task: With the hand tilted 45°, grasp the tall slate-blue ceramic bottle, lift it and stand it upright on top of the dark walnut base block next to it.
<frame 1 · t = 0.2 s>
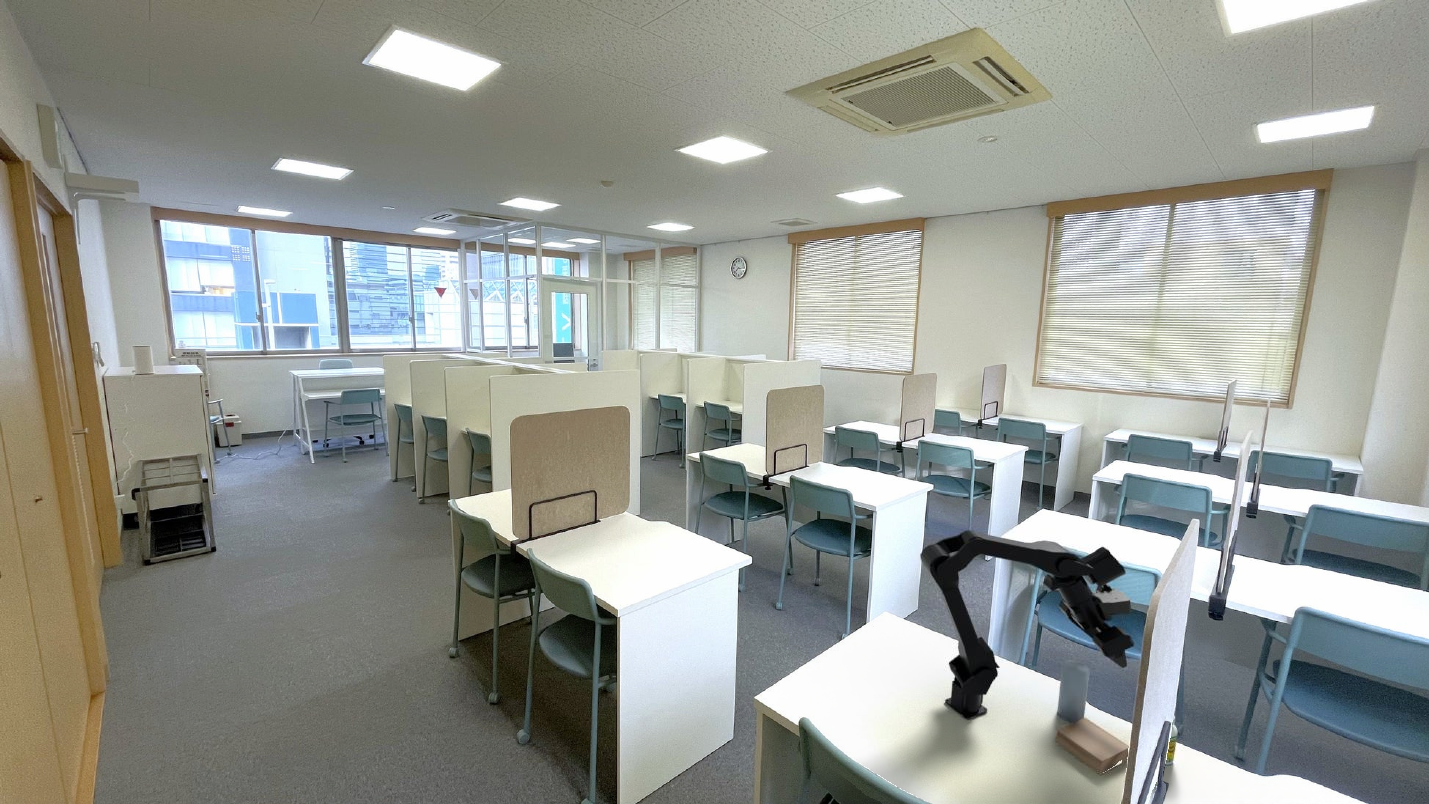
hand: (1111, 653, 124), 15 cm above the table, tool tilted 30°, fingers open, 9 cm apart
slate bottle: (1070, 716, 125), on the table
supplement bottle: (1156, 756, 114), on the table
walnut base: (1091, 751, 115), on the table
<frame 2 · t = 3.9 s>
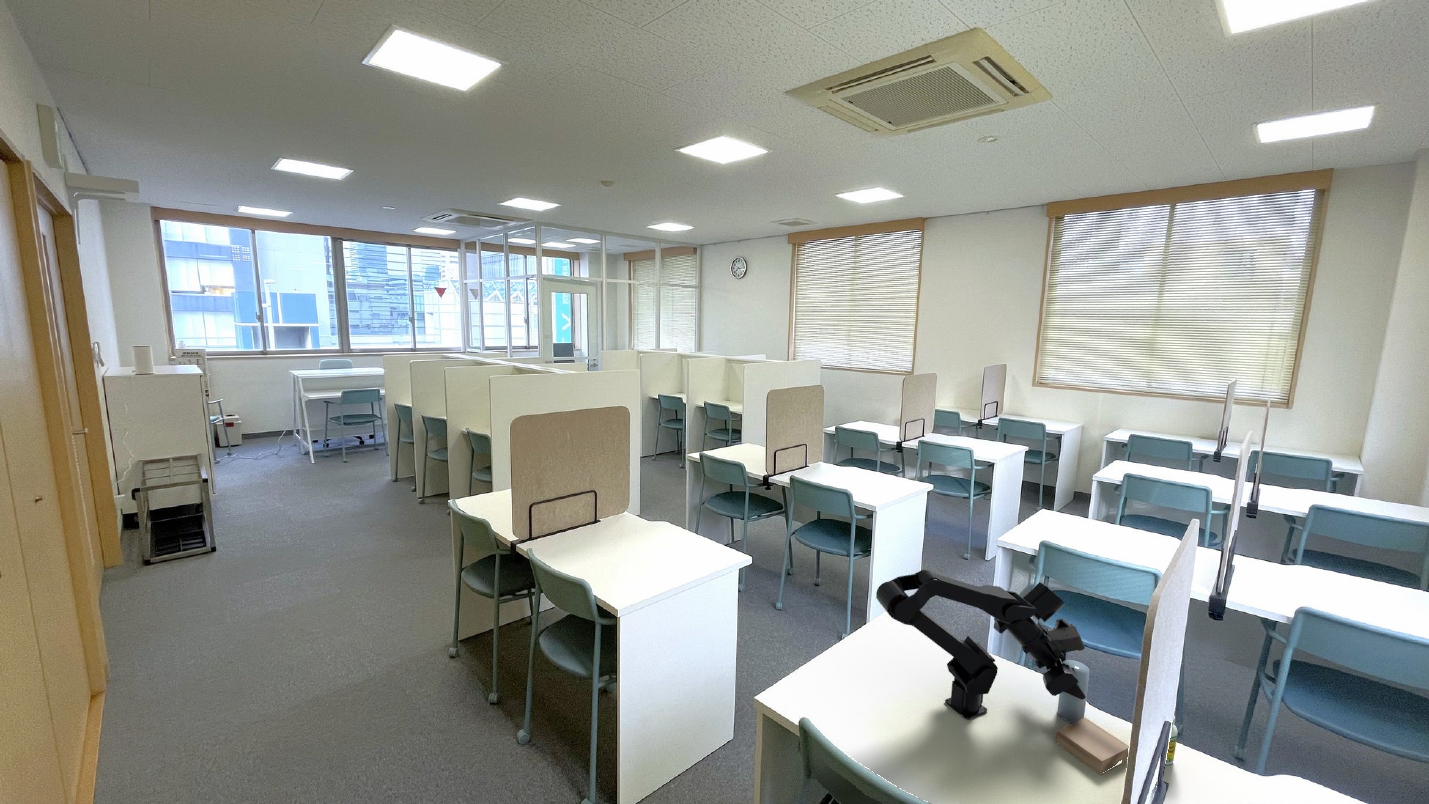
hand: (1080, 690, 124), 7 cm above the table, tool tilted 45°, fingers closed on slate bottle, 5 cm apart
slate bottle: (1070, 716, 125), on the table, touching gripper
everything else where it was.
when the fingers open (11 cm above the table, at t = 8.6 s): slate bottle drops 1 cm, resting on walnut base.
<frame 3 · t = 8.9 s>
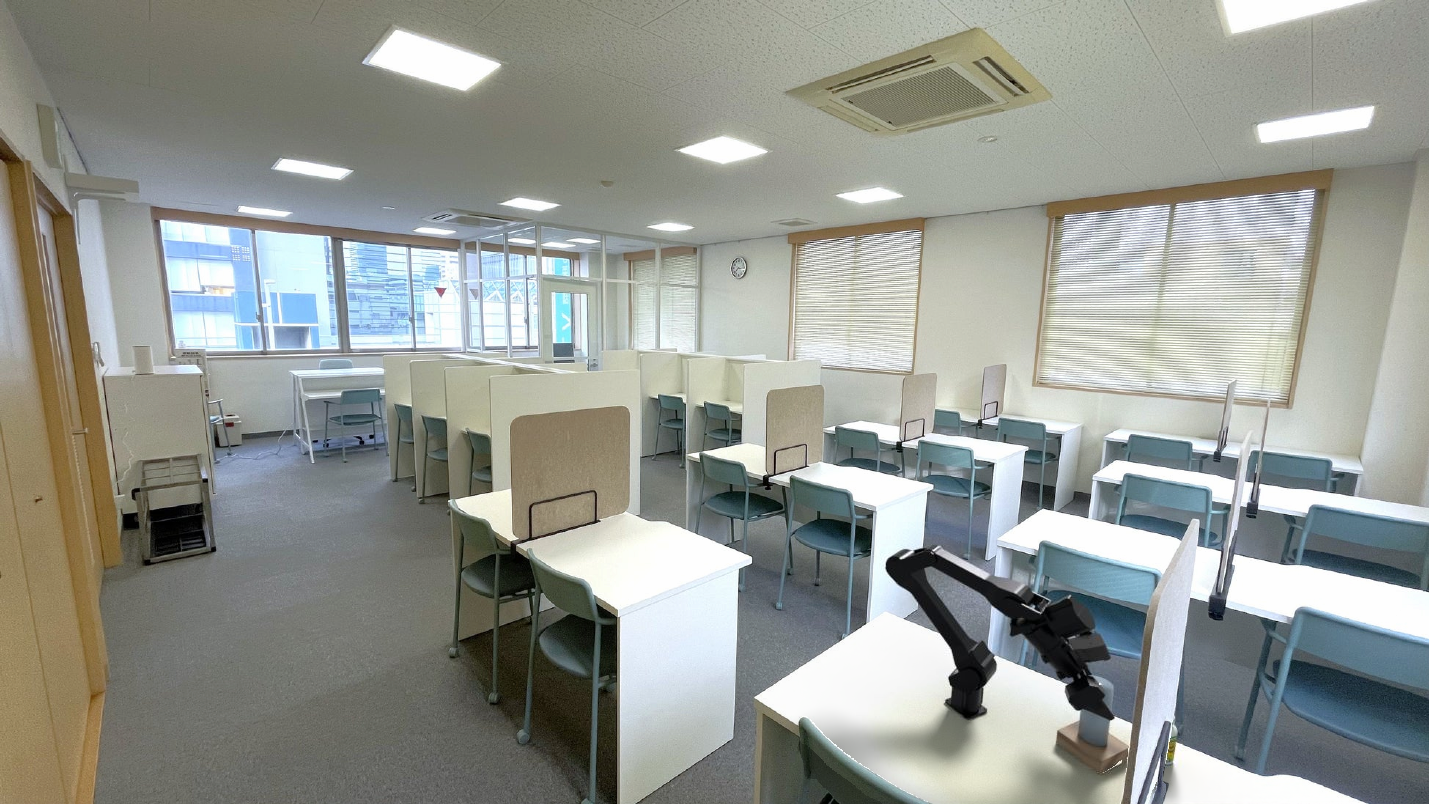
hand: (1105, 704, 113), 11 cm above the table, tool tilted 45°, fingers open, 9 cm apart
slate bottle: (1092, 737, 115), point 3 cm above the table, touching walnut base
everything else where it was.
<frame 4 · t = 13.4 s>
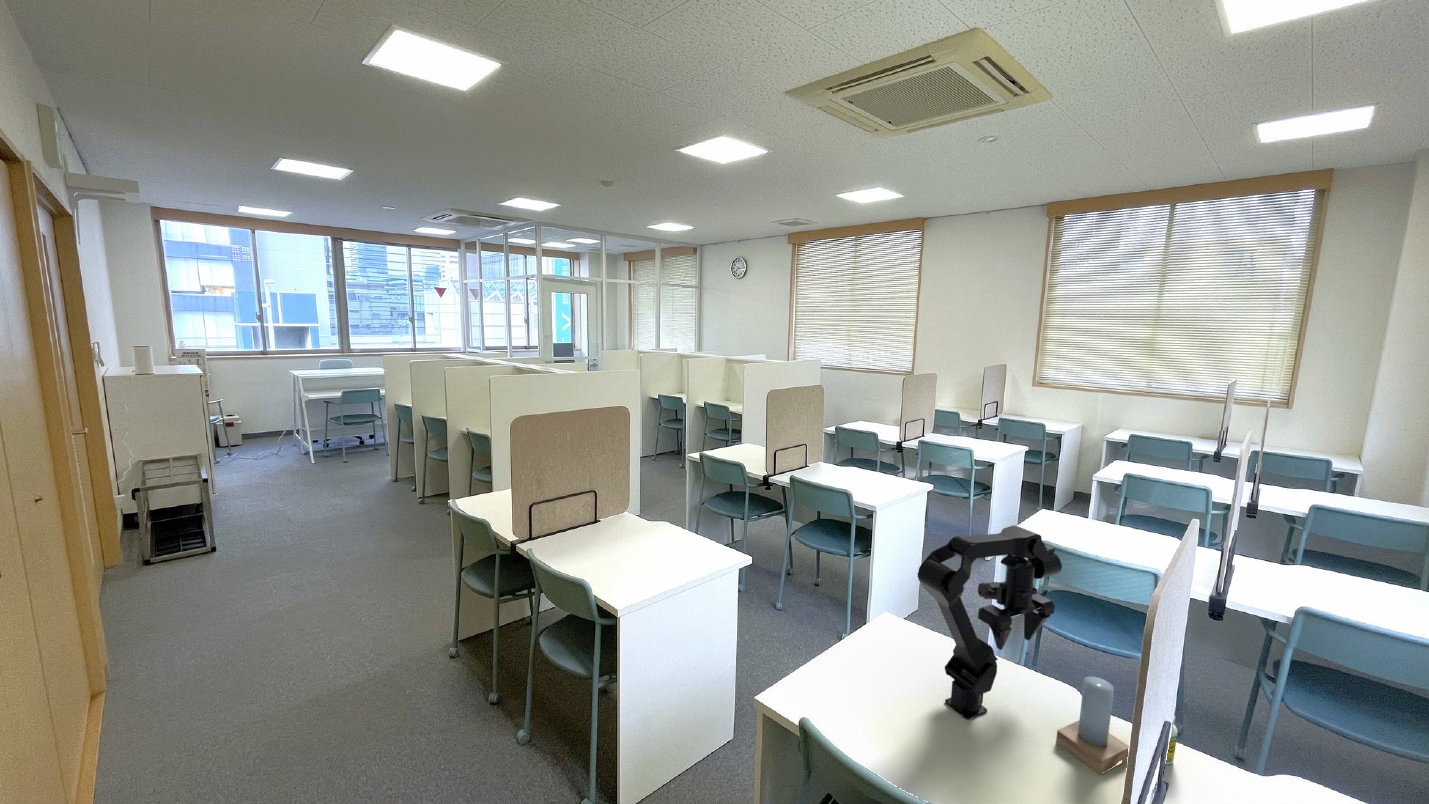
hand: (1013, 644, 132), 12 cm above the table, tool pointing down, fingers open, 9 cm apart
nothing on the table moved.
at the end: slate bottle 0.1 cm off-centre on the walnut base, point 3.0 cm above the walnut base's base; slate bottle tilted 0°; the gripper is holding nothing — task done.
